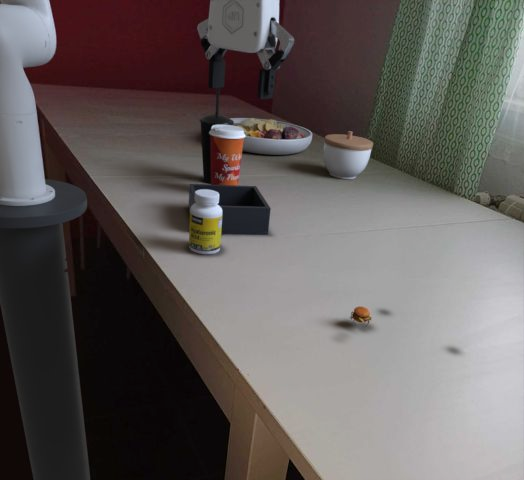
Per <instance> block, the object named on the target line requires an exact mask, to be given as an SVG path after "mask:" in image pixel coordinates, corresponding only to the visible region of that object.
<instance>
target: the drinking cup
mask: <svg viewBox="0 0 524 480" xmlns="http://www.w3.org/2000/svg"><path fill="white" fill-rule="evenodd" d="M220 91H221V88H216V94H215V113H208V114H206V115H204V116H200V117H199V122H200V134H201V135H200V136H201V154H202V155H201V156H202V158H201V159H202V174H203V175H202V176H203V182H204V183H206V184H211V136H210V134H209V132H210V131H211V127H212V126H213V125H233V124H234V121H233V120H231V119H229V117H228V116H227V115H224V114H221V113H219V112H220V93H221V92H220Z"/></svg>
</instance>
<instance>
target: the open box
mask: <svg viewBox="0 0 524 480" xmlns="http://www.w3.org/2000/svg"><path fill="white" fill-rule="evenodd" d="M201 189H208V190H213V191H216V192H218V193H219V203H218V204H217V205H219V206H220V207H221V208H222V230H221V235H263V236H264V235H265V236H266V235H267V236H268V235H269V228H270V217H271V210H272V209H271V207H270V205H269V203H268V201H267V200H266V199H265V197H264V196H263V194H262V193H261V191H260V190H259V188H258V187H257V185H239V184H238V185H211V183H206V184H205V183H189V184H188V211H189V212H190V208H191V206H192V205H193V204H195V203H196V202H195V199H194V198H195V191H197V190H201Z"/></svg>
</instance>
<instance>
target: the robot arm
mask: <svg viewBox="0 0 524 480" xmlns="http://www.w3.org/2000/svg"><path fill="white" fill-rule="evenodd" d="M208 10H209V11H208V18H206V19H205V20H203V21H201V22H200V23H198V25H197V27H196V28H197V32H198V35H199V39H200V45H201V47H202V49H203V50H204V52H205V58H206V60H208V79H207V80H208V81H207V82H208V85H207V86H208V88H209V89H211V90H212V89H217V88H219V89H223V88H224V87H225V78H226V77H225V74H226V59H223V57H224V56H225V54H226V53H227V52H228V50H230V51H235V52H236V51H237V52H241V53H249V54H255V53H256V55H257V56H258V59H259V61H260V63H261V65H262V67H263V68H260V69H259V72H258V84H257V93H256V95H257V99H258V100H269V99H273V96H274V92H275V85H276V76H277V75H276V74H277V70H280V68H281V65H282V64H283V63H284V62H285V61H286V60H288V57H289V53H290V52H291V50H292V48H293V47H294V44H295V38H294V36H293V35H292V34H291V33H289V31H287V30H286V28H284V27H283V26H282V25H281V24H280V0H210V1H209V9H208ZM278 41H279V46H278V49H277V50H276V48H277V44H278ZM56 50H57V32H56V26H55V21H54V17H53V12H52V7H51V3H50V0H0V205H5V206H32V205H39V204H43V203H46V202H49V201H51V200H52V199H53V198H54V197H55V190H54V189H53V188H52V187H51V186H49V185H46V184H45V179H46V178H45V169H44V161H43V152H42V144H41V136H40V127H39V122H38V120H39V119H38V113H37V105H36V99H35V94H34V91H33V90H34V89H33V87H32V85H31V83H30V81H29V79H28V77H27V74H26V72H25V70H24V68H32V67H33V68H35V67H39V66H44V65H45V64H47V63H49V62H50V61H51V60H52V59H53V58H54V55H55V54H56Z"/></svg>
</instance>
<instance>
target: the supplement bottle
mask: <svg viewBox="0 0 524 480" xmlns="http://www.w3.org/2000/svg"><path fill="white" fill-rule="evenodd" d="M194 199H195V202H196V203H195V204H193V205H192V206H191V208H190V211H189V226H188V227H189V229H188V230H189V232H188V247H189V250H190V251H191V252H193V253H195V254H200V255H214V254H217V253H218V252H219V251H220V250H221V246H222V245H221V243H222V234H221V230H222V208H221V207H220V206H219V205H217V204H218V203H219V193H218V192H216V191H213V190H208V189H201V190H197V191H195V198H194Z"/></svg>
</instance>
